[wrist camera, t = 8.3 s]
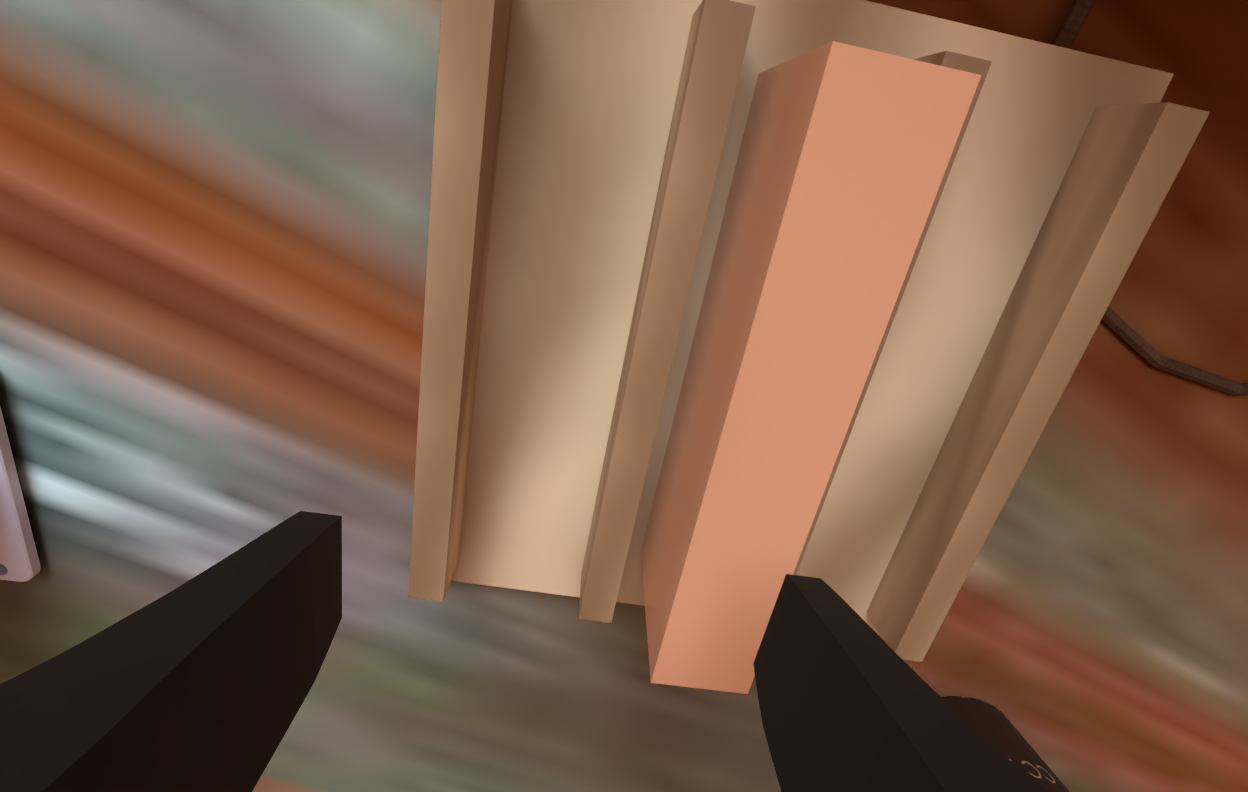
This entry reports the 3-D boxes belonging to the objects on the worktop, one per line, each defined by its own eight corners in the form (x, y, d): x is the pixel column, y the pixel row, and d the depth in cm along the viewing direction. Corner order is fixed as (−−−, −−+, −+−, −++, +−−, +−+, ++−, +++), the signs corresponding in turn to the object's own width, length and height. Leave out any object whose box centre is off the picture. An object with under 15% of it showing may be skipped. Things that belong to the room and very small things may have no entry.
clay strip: (640, 552, 19) (651, 682, 15) (758, 73, 14) (832, 40, 9) (715, 563, 19) (747, 694, 15) (859, 95, 14) (981, 75, 9)
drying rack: (421, 552, 20) (389, 621, 18) (461, -80, 13) (420, -141, 11) (882, 613, 22) (924, 686, 19) (1132, 78, 15) (1259, 64, 12)
